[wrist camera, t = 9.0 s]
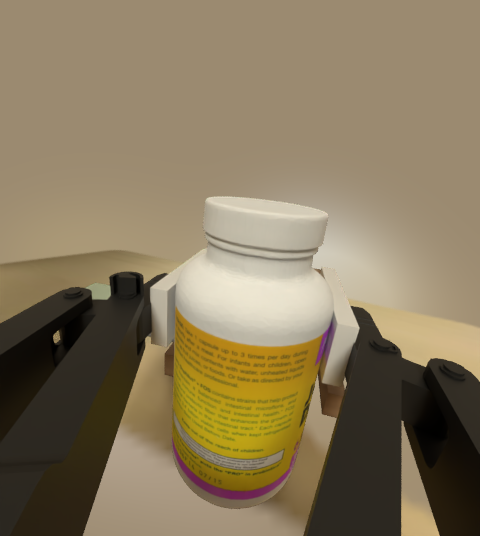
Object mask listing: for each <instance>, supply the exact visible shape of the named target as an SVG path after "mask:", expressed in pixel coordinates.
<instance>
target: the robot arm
mask: <svg viewBox="0 0 480 536" xmlns="http://www.w3.org/2000/svg"><path fill="white" fill-rule="evenodd" d="M205 253H207V249H206V248H204V249H202V250H201V251H199V252H198V253H197V254H195V255H194V256H193V257H191V258H190V259H189V260H187V261H186V262H184V263H183V264H182V265H180V266H179V267H178V268H176V269H175V270H173V271H172V272H171V273H169V274H167V273H164V274H161V275H157V276H156V277H154V278H153V279H151V280H150V281H148V282H147V283H145V284H144V282H143V275H142V274H140V273H137V272H120V273H116V274H113V275H111V276H110V277H109V278H110V291H111V295H110V297H109V298H108V299H107V300H105V299H92V291H91V290H89V289H86V288H79V287H75V288H74V287H73V288H69V289H65V290H62V291H60V292H58V293H56V294H54V295H52V296H50V297H48V298H47V299H45V300H43V301H41V302H39V303H37V304H35V305H34V306H32V307H30V308H28V309H26V310H24V311H23V312H21V313H19V314H17V315H15V316H13V317H12V318H10V319H8V320H6V321H4V322H2V323H0V536H83V533H84V530H85V527H86V524H87V521H88V518H89V515H90V512H91V509H92V506H93V503H94V500H95V497H96V494H97V491H98V488H99V485H100V482H101V478H102V476H103V473H104V470H105V467H106V464H107V461H108V458H109V455H110V452H111V449H112V446H113V443H114V440H115V437H116V434H117V431H118V428H119V425H120V422H121V419H122V416H123V413H124V410H125V407H126V404H127V401H128V398H129V395H130V392H131V389H132V386H133V383H134V380H135V377H136V374H137V371H138V368H139V365H140V362H141V359H142V356H143V353H144V350H145V338H146V337H147V336H148V335H149V334H150V333H151V344H155V345H160V346H164V347H167V346H168V345H169V344H170V343H171V341H172V340H173V339H174V337H175V290H176V283H177V280H178V277H179V275H180V273H181V272H182V270H183V269H184V267H185V266H186V265H187V264H188V263H189V262H191V261H192V260H193V259H195V258H196V257H198V256H200V255H202V254H205ZM320 275H321V276H322V277H323V278H324V279H325V280H326V282H327V283H328V285H329V287H330V289H331V292H332V294H333V299H334V311H333V316H332V320H331V324H330V328H329V332H328V335H327V339H326V343H325V347H324V351H323V354H322V358H321V362H320V373H321V381H322V383H325V384H329V385H333V386H338V387H342V384H343V381H344V378H346V382H347V386H346V389H345V392H344V396H343V399H342V402H341V405H340V408H339V409H340V410H339V413H338V417H337V420H336V424H335V427H334V431H333V434H332V438H331V441H330V445H329V448H328V452H327V455H326V459H325V462H324V466H323V469H322V473H321V476H320V480H319V483H318V487H317V490H316V494H315V497H314V501H313V504H312V508H311V511H310V515H309V518H308V522H307V525H306V528H305V532H304V535H303V536H401V420H402V421H404V427H405V430H406V433H407V436H408V439H409V442H410V445H411V448H412V451H413V455H414V458H415V460H416V464H417V467H418V469H419V473H420V476H421V479H422V482H423V485H424V488H425V491H426V494H427V498H428V501H429V504H430V507H431V510H432V513H433V516H434V519H435V522H436V525H437V528H438V531H439V535H440V536H480V382H479V380H478V379H477V378H476V377H475V376H474V375H473V374H472V373H471V372H469V371H468V370H466V369H465V368H464V367H462V366H461V365H459V364H458V365H457V363H454V362H452V361H447V360H444V359H438V358H435V359H430V361H429V362H428V364H427V366H426V367H424V366H421V365H419V364H416V363H413V362H411V361H408V360H406V359H404V358H402V354H401V351H400V349H399V348H398V347H397V346H396V345H395V344H393V343H392V342H390V341H388V340H386V339H384V338H383V337H382V336H381V334H380V332H379V330H378V328H377V326H376V325H375V323H374V321H373V319H372V317H371V315H370V314H369V313H368V312H367V311H365V310H364V309H363V308H359V307H354V306H350V304H349V302H348V299H347V297H346V295H345V292H344V290H343V288H342V285H341V283H340V280H339V278H338V276H337V274H336V271H335V269H331V268H325V267H322V268H321V272H320ZM58 330H59V333H60V340H59V341H58V342H57V343H54V340H53V335H54V334H55V333H56V332H57V331H58Z"/></svg>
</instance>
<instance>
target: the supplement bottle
mask: <svg viewBox="0 0 480 536" xmlns="http://www.w3.org/2000/svg"><path fill="white" fill-rule="evenodd" d="M327 221H328V214H327V213H326V212H324V211H322V210H318V209H315V208H310V207H306V206H302V205H297V204H291V203H285V202H278V201H271V200H263V199H253V198H241V197H225V196H223V197H222V196H221V197H210V198H207V199H206V202H205V211H204V221H203V229H204V231H205V238H206V239H207V240H208V246H207V253H205V254H202V255H200V256H198V257H196V258H195V259H193V260H192V261H191V262H189V263H188V264H187V265H186V266H185V267H184V269H183V270H182V272H181V273H180V275H179V277H178V280H177V283H176V290H175V339H174V375H173V408H172V451H173V457H174V461H175V464H176V467H177V469H178V471H179V473H180V475H181V477H182V478H183V480H184V481H185V483H186V484H187V485H188V486H189V487H190V489H191V490H192V491H193V492H194V493H196V494H197V495H198V496H199V497H201V498H203V499H204V500H206V501H208V502H210V503H212V504H214V505H217V506H220V507H224V508H231V509H232V508H234V509H240V508H248V507H252V506H256V505H259V504H261V503H263V502H265V501H267V500H268V499H270V498H271V497H273V496H274V495H275V494H276V493H277V492H278V491H279V490H280V489H281V488H282V487H283V486H284V484H285V483H286V482H287V480H288V478H289V476H290V474H291V472H292V470H293V467H294V463H295V460H296V457H297V453H298V449H299V445H300V441H301V438H302V433H303V430H304V426H305V422H306V418H307V414H308V410H309V405H310V401H311V398H312V394H313V390H314V387H315V381H316V378H317V374H318V370H319V366H320V362H321V358H322V354H323V351H324V347H325V343H326V339H327V335H328V332H329V328H330V324H331V320H332V316H333V311H334V299H333V294H332V292H331V289H330V287H329V285H328V283H327V282H326V280H325V279H324V278H323V277H322V276H321V275H320V274H319V273H318V272H317V271H316V270H315V269H313V268H312V267H311V266H312V261H313V255H314V254H316V253H317V252H318V247H319V246H321V245H322V244H323V240H324V235H325V230H326V225H327Z"/></svg>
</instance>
